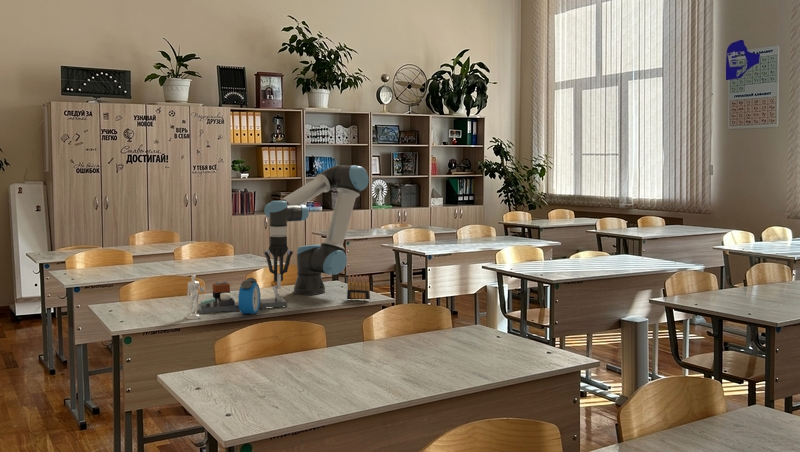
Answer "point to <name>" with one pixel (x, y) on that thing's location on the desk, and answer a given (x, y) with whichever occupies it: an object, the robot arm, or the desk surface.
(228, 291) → the battery
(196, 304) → the figurine
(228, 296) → the button
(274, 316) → the desk surface
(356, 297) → the ammunition clip
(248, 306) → the alarm clock
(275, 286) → the lever
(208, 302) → the block
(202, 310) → the panel
